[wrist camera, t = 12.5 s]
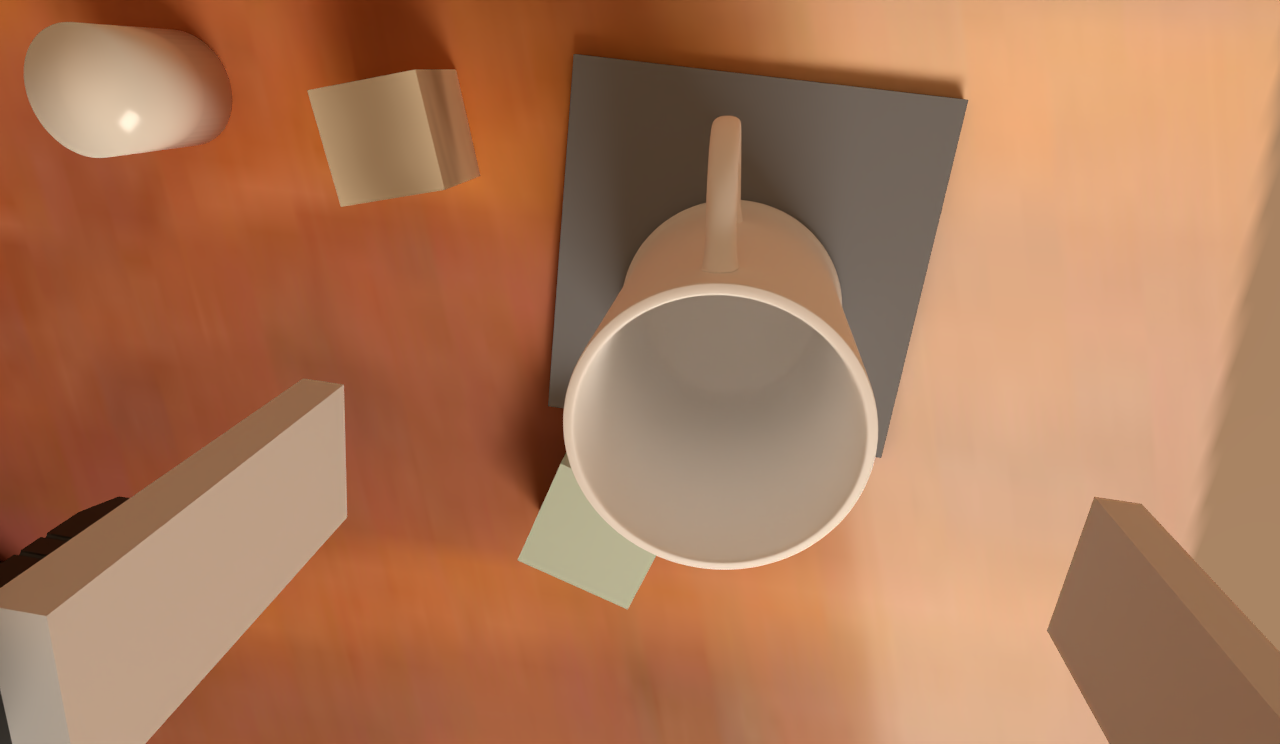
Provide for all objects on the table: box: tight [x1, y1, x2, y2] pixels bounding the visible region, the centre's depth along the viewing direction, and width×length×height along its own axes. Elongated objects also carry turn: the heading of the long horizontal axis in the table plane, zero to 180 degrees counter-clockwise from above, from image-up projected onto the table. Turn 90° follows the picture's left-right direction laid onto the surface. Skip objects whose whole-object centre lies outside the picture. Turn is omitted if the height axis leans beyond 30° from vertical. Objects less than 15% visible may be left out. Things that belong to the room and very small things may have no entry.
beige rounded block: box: [24, 22, 232, 158], centre depth 30 cm, size 4×4×5 cm
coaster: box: [548, 54, 968, 458], centre depth 31 cm, size 14×14×1 cm
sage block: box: [518, 452, 656, 609], centre depth 34 cm, size 5×5×4 cm
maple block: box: [307, 69, 480, 207], centre depth 30 cm, size 4×4×4 cm
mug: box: [563, 116, 878, 570], centre depth 25 cm, size 12×8×12 cm
